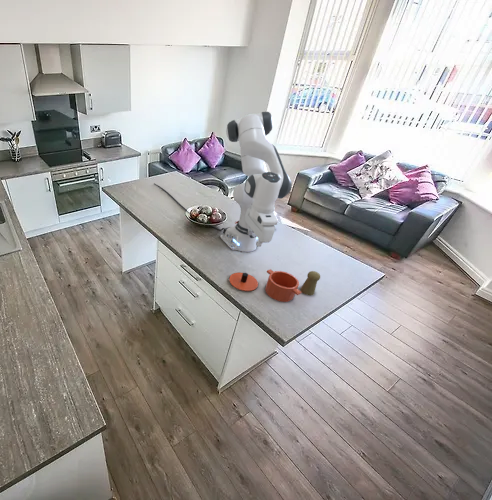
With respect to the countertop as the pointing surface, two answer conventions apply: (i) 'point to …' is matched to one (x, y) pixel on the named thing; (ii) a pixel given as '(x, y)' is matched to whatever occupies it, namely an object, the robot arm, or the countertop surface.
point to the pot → (282, 286)
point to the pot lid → (243, 281)
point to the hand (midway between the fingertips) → (253, 240)
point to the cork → (310, 283)
